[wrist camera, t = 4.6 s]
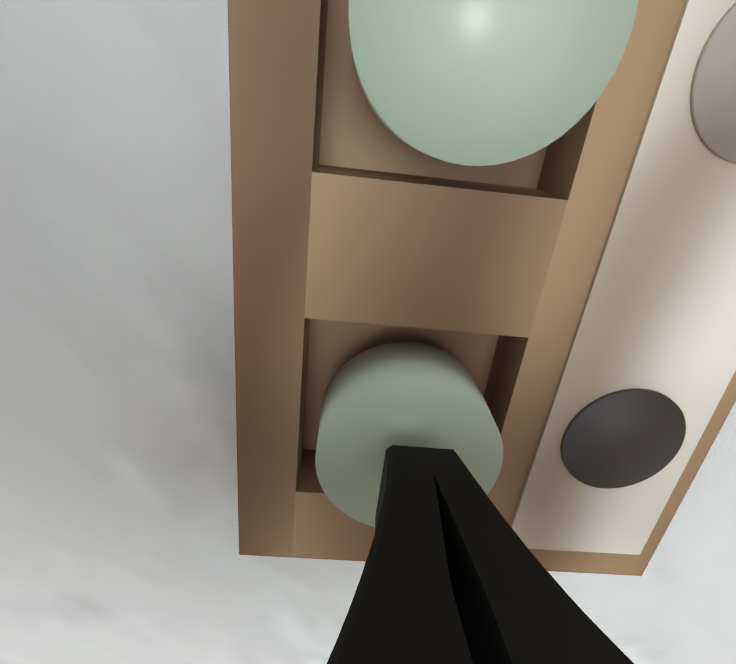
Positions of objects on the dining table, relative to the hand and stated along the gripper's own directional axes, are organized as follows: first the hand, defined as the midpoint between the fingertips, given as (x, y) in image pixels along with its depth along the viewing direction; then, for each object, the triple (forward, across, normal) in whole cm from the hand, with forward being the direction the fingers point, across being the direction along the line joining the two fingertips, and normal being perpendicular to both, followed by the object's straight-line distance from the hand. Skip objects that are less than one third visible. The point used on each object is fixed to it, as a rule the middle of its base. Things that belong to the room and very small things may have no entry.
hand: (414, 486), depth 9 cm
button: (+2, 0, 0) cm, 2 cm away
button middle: (+2, 0, -8) cm, 8 cm away
